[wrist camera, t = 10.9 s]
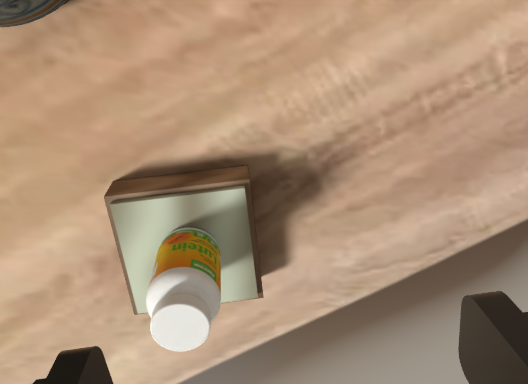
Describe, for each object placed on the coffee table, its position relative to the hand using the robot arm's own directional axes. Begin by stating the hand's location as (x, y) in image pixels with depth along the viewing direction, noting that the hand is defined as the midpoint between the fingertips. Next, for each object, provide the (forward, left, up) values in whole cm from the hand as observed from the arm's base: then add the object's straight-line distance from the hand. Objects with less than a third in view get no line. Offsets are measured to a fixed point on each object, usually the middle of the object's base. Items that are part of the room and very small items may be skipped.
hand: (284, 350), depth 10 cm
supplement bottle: (+6, +13, -27) cm, 30 cm away
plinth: (+6, +13, -30) cm, 33 cm away
